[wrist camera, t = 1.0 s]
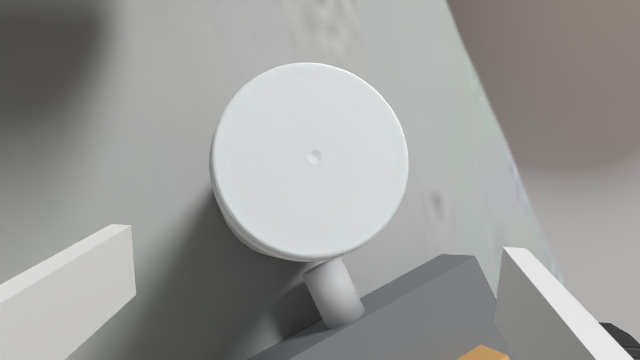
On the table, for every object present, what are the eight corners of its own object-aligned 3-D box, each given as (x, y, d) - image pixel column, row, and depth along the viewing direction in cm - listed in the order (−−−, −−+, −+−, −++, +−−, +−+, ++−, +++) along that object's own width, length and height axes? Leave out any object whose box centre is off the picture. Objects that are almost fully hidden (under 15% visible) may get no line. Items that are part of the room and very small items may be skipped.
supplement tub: (360, 224, 35) (448, 212, 21) (250, 278, 33) (265, 307, 18) (309, 116, 35) (361, 30, 21) (197, 161, 33) (171, 100, 19)
